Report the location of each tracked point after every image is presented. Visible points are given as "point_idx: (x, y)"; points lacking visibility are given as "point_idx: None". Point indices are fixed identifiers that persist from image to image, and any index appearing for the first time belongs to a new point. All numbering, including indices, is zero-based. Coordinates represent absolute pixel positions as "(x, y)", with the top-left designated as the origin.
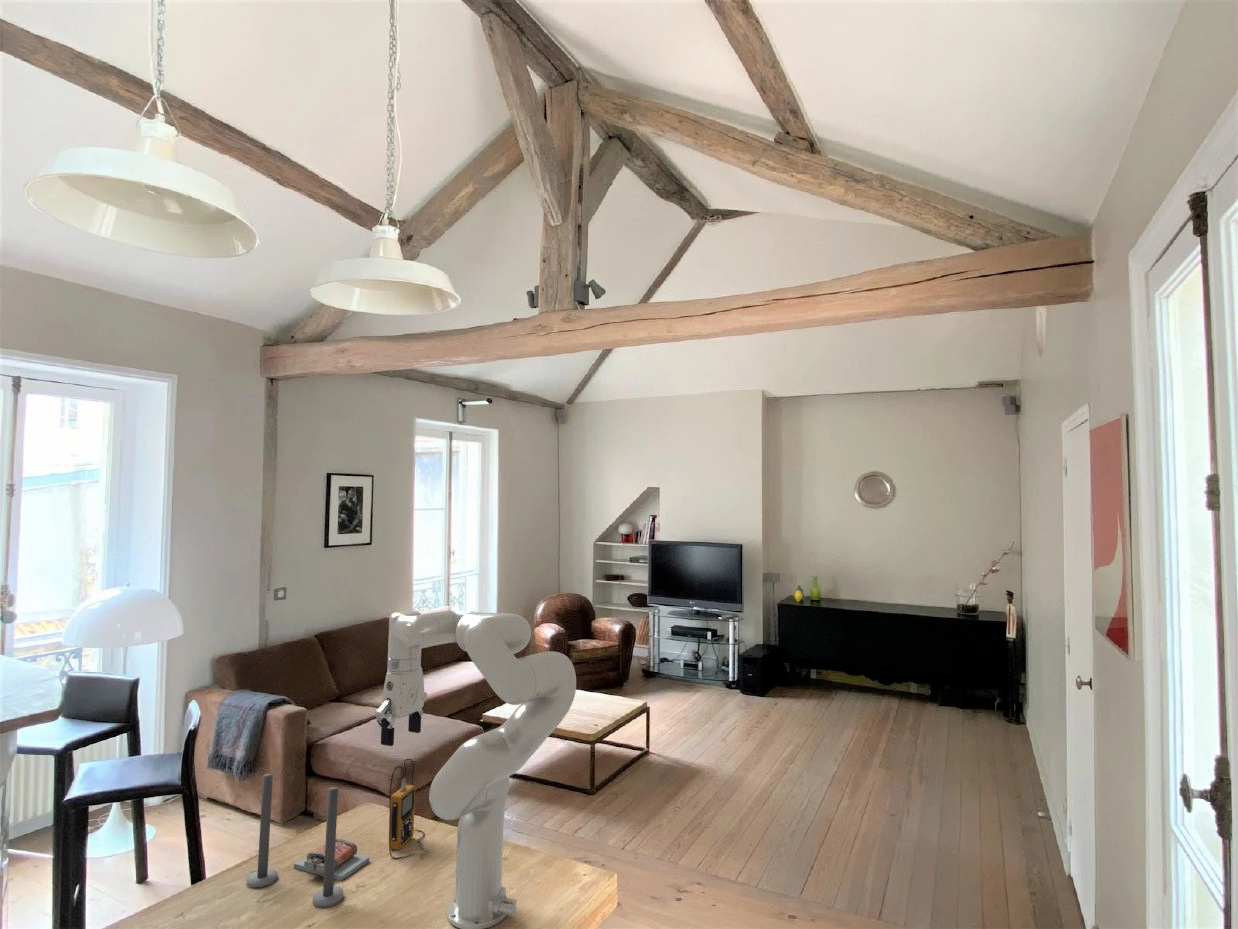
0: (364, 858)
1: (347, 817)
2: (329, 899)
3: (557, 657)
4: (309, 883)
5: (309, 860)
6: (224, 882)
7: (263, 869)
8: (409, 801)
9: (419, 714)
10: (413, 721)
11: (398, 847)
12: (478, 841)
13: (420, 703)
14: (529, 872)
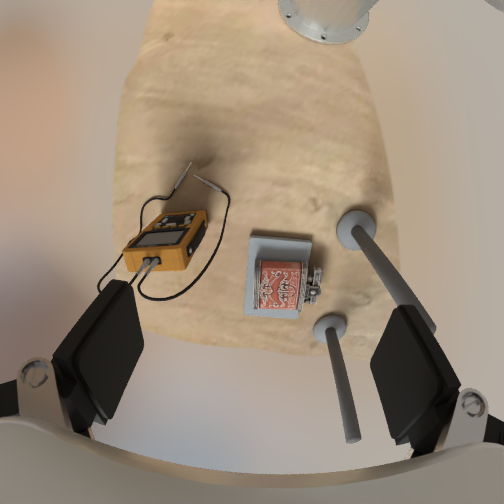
0: (255, 242)
1: (160, 330)
2: (368, 221)
3: None
4: (325, 276)
5: (312, 300)
6: None
7: (336, 334)
8: (150, 240)
9: (56, 376)
10: (110, 368)
11: (204, 212)
12: None
13: (25, 500)
14: None
